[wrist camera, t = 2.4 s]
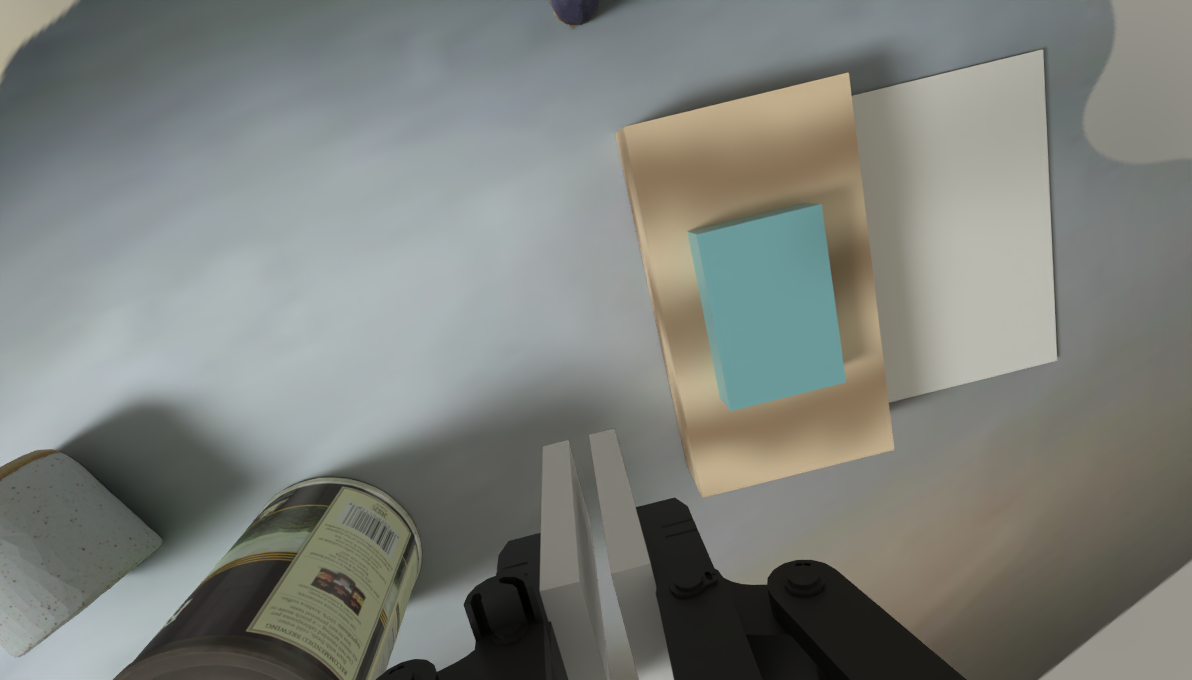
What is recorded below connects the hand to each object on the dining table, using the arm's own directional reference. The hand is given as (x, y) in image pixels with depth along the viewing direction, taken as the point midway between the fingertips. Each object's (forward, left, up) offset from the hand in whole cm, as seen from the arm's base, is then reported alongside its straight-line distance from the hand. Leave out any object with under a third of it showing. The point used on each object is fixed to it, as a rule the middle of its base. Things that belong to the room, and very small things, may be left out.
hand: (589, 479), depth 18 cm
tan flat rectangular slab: (0, -10, -18) cm, 21 cm away
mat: (0, -22, -18) cm, 29 cm away
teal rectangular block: (0, -10, -14) cm, 18 cm away
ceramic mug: (-4, +31, -19) cm, 36 cm away
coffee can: (-10, +17, -19) cm, 27 cm away
